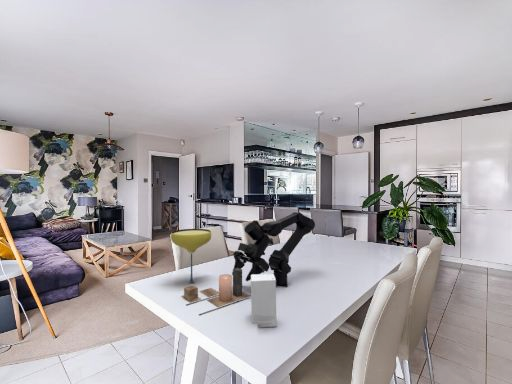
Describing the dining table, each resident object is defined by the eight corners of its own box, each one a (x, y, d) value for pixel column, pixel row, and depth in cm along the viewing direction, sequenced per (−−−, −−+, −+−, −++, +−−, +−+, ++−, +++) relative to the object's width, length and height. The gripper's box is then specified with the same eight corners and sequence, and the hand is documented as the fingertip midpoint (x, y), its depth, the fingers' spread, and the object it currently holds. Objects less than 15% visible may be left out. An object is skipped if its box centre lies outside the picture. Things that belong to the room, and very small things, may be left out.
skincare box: (274, 317, 91) (274, 273, 91) (277, 328, 84) (277, 279, 84) (250, 318, 91) (250, 273, 91) (251, 328, 84) (251, 280, 84)
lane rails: (233, 293, 112) (233, 290, 112) (249, 301, 104) (249, 298, 104) (185, 308, 98) (185, 304, 98) (199, 319, 90) (199, 315, 90)
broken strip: (211, 290, 115) (211, 287, 115) (221, 296, 109) (221, 293, 109) (180, 299, 106) (180, 296, 106) (189, 306, 100) (189, 302, 100)
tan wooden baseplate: (239, 292, 113) (239, 265, 112) (251, 298, 106) (251, 269, 106) (206, 302, 102) (206, 273, 102) (217, 309, 96) (217, 278, 96)
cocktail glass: (170, 281, 127) (170, 229, 126) (207, 277, 133) (207, 227, 133) (172, 295, 110) (172, 236, 109) (215, 289, 116) (214, 233, 116)
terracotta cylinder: (232, 296, 105) (232, 274, 105) (230, 302, 100) (230, 278, 100) (220, 296, 106) (220, 274, 106) (217, 301, 101) (217, 278, 101)
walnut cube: (193, 294, 107) (193, 285, 107) (197, 297, 104) (197, 287, 104) (184, 297, 105) (184, 287, 105) (188, 300, 102) (188, 290, 102)
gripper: (236, 232, 118) (215, 261, 111) (263, 238, 103) (241, 272, 96) (249, 247, 123) (230, 276, 116) (278, 255, 109) (258, 288, 102)
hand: (239, 277), depth 107 cm, fingers open, 9 cm apart
